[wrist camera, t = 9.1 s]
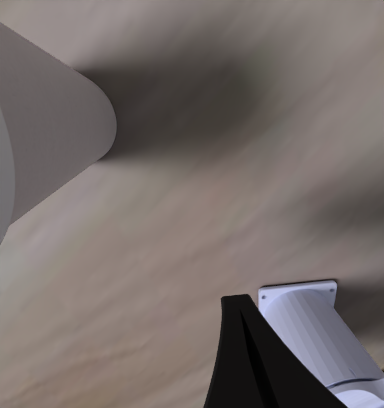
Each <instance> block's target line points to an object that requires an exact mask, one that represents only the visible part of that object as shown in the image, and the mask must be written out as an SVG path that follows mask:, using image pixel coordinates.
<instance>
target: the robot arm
mask: <svg viewBox="0 0 384 408" xmlns="http://www.w3.org/2000/svg"><path fill="white" fill-rule="evenodd" d="M336 291H337V284H336V282H335V281H333V280H330V281H321V282H311V283H301V284H292V285H282V286H272V287H263V288H261V289H259V292H258V294H259V309H258V308H257V307H256V305H255V303H254V302H253V300H252V299H251V297H250V295H248V294H242V295H233V296H223V297H222V298H221V306H222V322H221V331H220V340H219V345H218V351H217V357H216V362H215V366H214V371H213V375H212V379H211V383H210V387H209V390H208V394H207V397H206V401H205V404H204V408H384V373H383V371H382V370H381V369H380V368H379V366H378V365H377V364H376V362H375V361H374V360H373V359H372V357H371V356H370V355H369V353H368V352H367V351H366V349H365V348H364V347H363V346H362V344H361V343H360V342H359V340H358V339H357V338H356V336H355V335H354V334H353V333H352V331H351V330H350V329H349V327H348V326H347V325H346V324H345V322H344V321H343V320H342V318H341V317H340V316H339V314H338V313H337V312H336V311H335V309H334V303H335V297H336ZM264 295H265V296H264Z"/></svg>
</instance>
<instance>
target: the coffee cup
mask: <svg viewBox="0 0 384 408" xmlns="http://www.w3.org/2000/svg"><path fill="white" fill-rule="evenodd" d="M116 131H117V122H116V116H115V112H114V109H113V107H112V104H111V102H110V100H109V99H108V97H107V96H106V94H105V93H104V92H103V91H102V90H101V89H100V88H99V87H98V86H97V85H96V84H95V83H94V82H92V81H91V80H89V79H88V78H86V77H85V76H83V75H82V74H80V73H78V72H77V71H75V70H74V69H72V68H71V67H69V66H67V65H66V64H64V63H63V62H61V61H60V60H58V59H57V58H55V57H53V56H52V55H50V54H49V53H47V52H46V51H44V50H43V49H41V48H39V47H38V46H36V45H35V44H33V43H32V42H30V41H29V40H27V39H25V38H24V37H22V36H21V35H19V34H18V33H16V32H15V31H13V30H11V29H10V28H8V27H7V26H5V25H4V24H2V23H1V22H0V244H1V242H2V241H3V238H4V236H5V234H6V232H7V229H8V227H9V226H10V225H11V224H12V223H14V222H15V221H16V220H18V219H19V218H20V217H22V216H23V215H24V214H26V213H27V212H28V211H30V210H31V209H32V208H34V207H35V206H36V205H38V204H39V203H40V202H42V201H43V200H44V199H46V198H47V197H48V196H50V195H51V194H52V193H54V192H55V191H56V190H58V189H59V188H60V187H62V186H63V185H65V184H66V183H67V182H69V181H70V180H71V179H73V178H74V177H75V176H77V175H78V174H79V173H81V172H82V171H84V170H85V169H86V168H88V167H89V166H90V165H92V164H93V163H95V162H96V161H97V160H99V159H100V158H101V157H103V156H104V155H105V154H106V153H107V152H108V151H109V150H110V148H111V147H112V145H113V143H114V140H115V137H116Z"/></svg>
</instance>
